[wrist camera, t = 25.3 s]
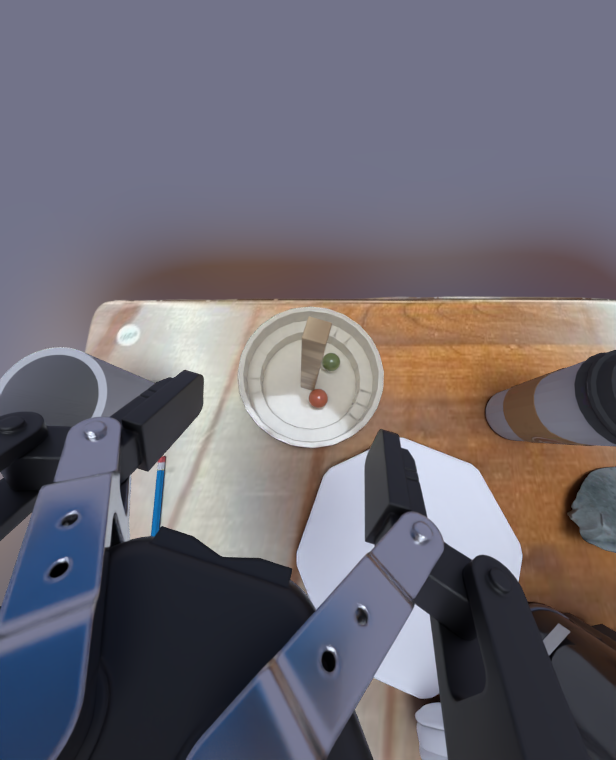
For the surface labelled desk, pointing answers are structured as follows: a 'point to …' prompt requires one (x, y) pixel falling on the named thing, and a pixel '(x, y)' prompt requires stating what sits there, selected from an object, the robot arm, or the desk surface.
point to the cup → (67, 387)
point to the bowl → (343, 386)
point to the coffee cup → (561, 406)
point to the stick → (313, 350)
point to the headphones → (431, 732)
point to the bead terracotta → (318, 398)
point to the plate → (347, 546)
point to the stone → (597, 509)
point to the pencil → (158, 496)
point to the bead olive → (331, 362)
